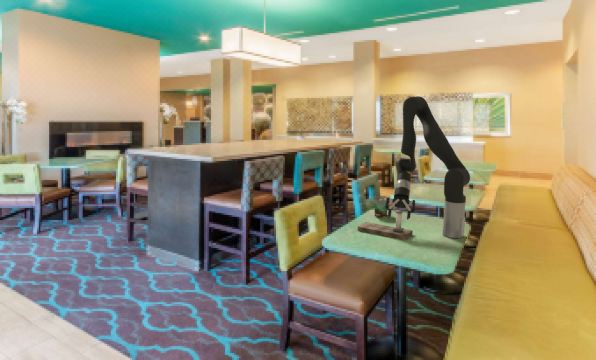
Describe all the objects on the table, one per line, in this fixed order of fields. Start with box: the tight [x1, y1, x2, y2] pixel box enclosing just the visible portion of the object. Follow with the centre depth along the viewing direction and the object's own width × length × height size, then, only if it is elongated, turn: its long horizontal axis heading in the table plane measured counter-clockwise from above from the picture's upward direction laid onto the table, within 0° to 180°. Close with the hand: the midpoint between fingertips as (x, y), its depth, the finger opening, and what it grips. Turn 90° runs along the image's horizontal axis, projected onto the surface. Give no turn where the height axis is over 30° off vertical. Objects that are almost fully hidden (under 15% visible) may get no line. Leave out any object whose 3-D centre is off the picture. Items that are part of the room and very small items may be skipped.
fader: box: [393, 209, 405, 232], centre depth 184 cm, size 4×4×10 cm
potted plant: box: [373, 196, 388, 218], centre depth 220 cm, size 12×6×10 cm, turn 143°
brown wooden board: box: [357, 221, 414, 241], centre depth 190 cm, size 25×10×2 cm, turn 55°
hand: (398, 217), depth 185 cm, fingers open, 8 cm apart
